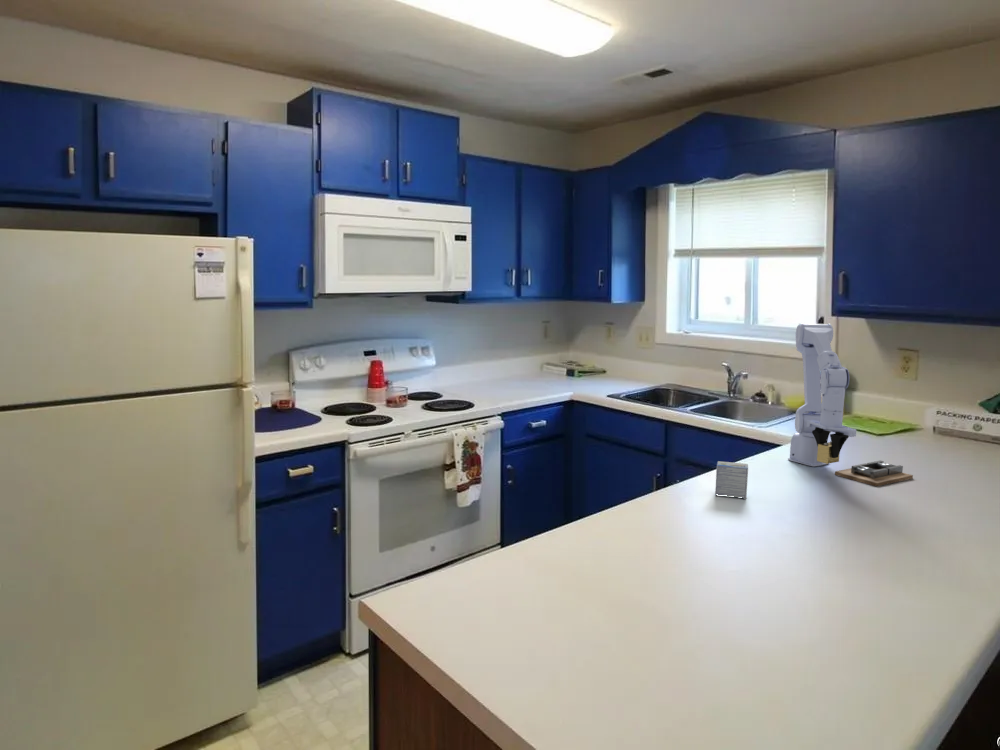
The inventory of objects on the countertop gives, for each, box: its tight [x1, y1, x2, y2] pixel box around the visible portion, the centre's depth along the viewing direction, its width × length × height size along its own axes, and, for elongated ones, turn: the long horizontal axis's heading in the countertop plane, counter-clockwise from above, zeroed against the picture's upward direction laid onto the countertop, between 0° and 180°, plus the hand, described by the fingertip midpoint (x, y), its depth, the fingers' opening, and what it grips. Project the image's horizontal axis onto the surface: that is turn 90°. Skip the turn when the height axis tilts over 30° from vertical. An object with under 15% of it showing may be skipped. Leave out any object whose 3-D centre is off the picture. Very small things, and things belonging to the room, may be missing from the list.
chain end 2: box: [866, 460, 904, 475], centre depth 203 cm, size 7×7×2 cm
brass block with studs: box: [817, 441, 841, 465], centre depth 198 cm, size 4×5×6 cm
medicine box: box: [714, 460, 749, 499], centre depth 181 cm, size 8×4×9 cm, turn 71°
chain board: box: [834, 467, 914, 487], centre depth 201 cm, size 13×17×1 cm
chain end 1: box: [850, 463, 888, 479], centre depth 200 cm, size 7×7×2 cm
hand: (828, 455), depth 198 cm, fingers closed on brass block with studs, 3 cm apart
